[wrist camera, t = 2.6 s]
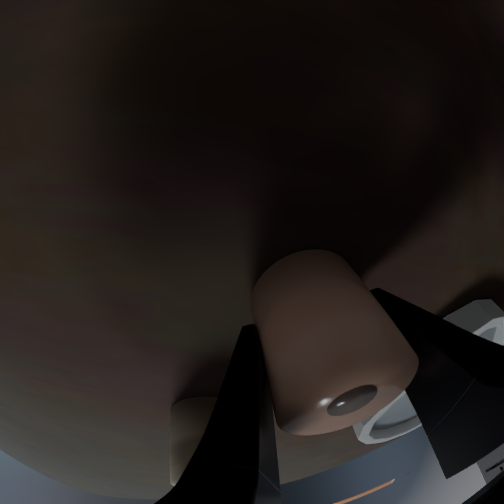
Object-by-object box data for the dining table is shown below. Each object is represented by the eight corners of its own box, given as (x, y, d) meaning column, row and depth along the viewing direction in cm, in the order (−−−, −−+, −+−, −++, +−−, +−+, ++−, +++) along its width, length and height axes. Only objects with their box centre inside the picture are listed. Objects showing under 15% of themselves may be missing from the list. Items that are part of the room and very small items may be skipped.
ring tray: (514, 273, 13) (531, 288, 11) (461, 381, 20) (469, 394, 18) (363, 353, 12) (379, 382, 10) (343, 440, 19) (349, 458, 18)
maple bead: (231, 390, 12) (243, 473, 8) (248, 421, 14) (259, 486, 10) (158, 401, 12) (155, 478, 8) (186, 429, 14) (189, 492, 10)
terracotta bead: (354, 237, 9) (436, 325, 5) (352, 320, 11) (401, 405, 7) (239, 266, 9) (264, 387, 5) (261, 346, 11) (285, 447, 7)
